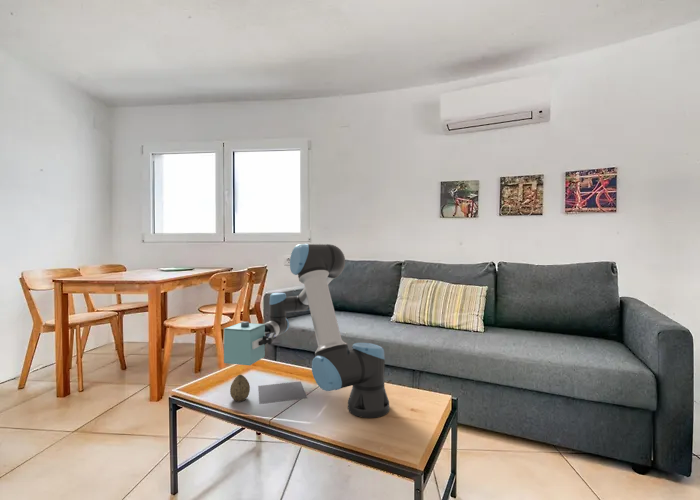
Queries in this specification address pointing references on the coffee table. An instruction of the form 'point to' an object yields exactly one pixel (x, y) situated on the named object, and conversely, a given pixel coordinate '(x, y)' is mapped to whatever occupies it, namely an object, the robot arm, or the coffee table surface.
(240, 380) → the decorative egg
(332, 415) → the coffee table surface
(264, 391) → the mat
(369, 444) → the coffee table surface
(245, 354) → the teal box with knob
